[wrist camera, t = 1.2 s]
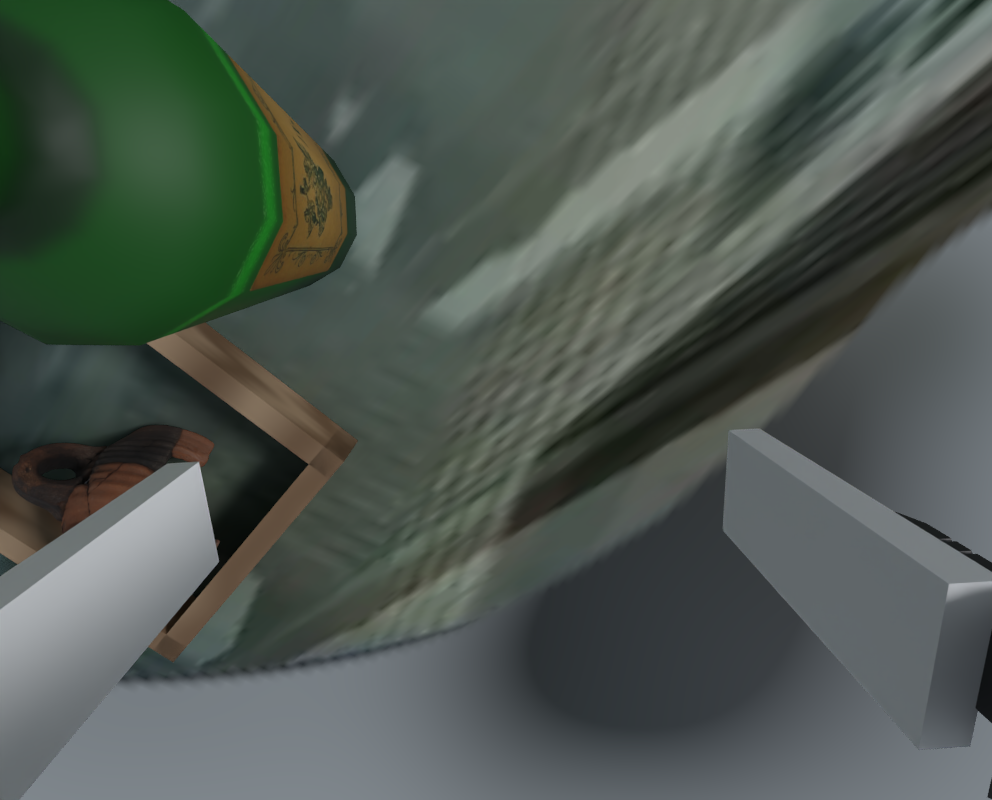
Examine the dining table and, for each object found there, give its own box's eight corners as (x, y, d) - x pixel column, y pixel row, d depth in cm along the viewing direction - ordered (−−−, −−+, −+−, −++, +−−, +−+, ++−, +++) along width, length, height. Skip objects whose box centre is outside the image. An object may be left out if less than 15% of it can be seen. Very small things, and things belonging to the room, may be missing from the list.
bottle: (412, 217, 34) (144, 40, 7) (297, 338, 35) (-298, 594, 8) (278, 77, 32) (-915, -1012, 5) (162, 213, 33) (-1233, 1, 6)
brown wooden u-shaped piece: (-26, 474, 37) (-85, 499, 33) (124, 260, 34) (78, 260, 30) (202, 623, 40) (173, 662, 36) (357, 440, 37) (343, 461, 33)
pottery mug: (263, 448, 37) (214, 558, 31) (229, 514, 43) (182, 618, 37) (65, 373, 33) (-35, 484, 27) (55, 457, 39) (-29, 564, 33)
